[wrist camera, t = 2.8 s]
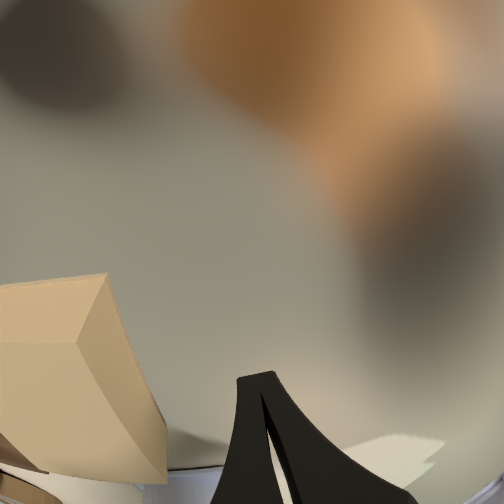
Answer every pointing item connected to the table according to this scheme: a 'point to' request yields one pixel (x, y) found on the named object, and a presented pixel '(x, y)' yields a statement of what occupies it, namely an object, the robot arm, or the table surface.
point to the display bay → (15, 457)
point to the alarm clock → (23, 492)
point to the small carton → (77, 383)
